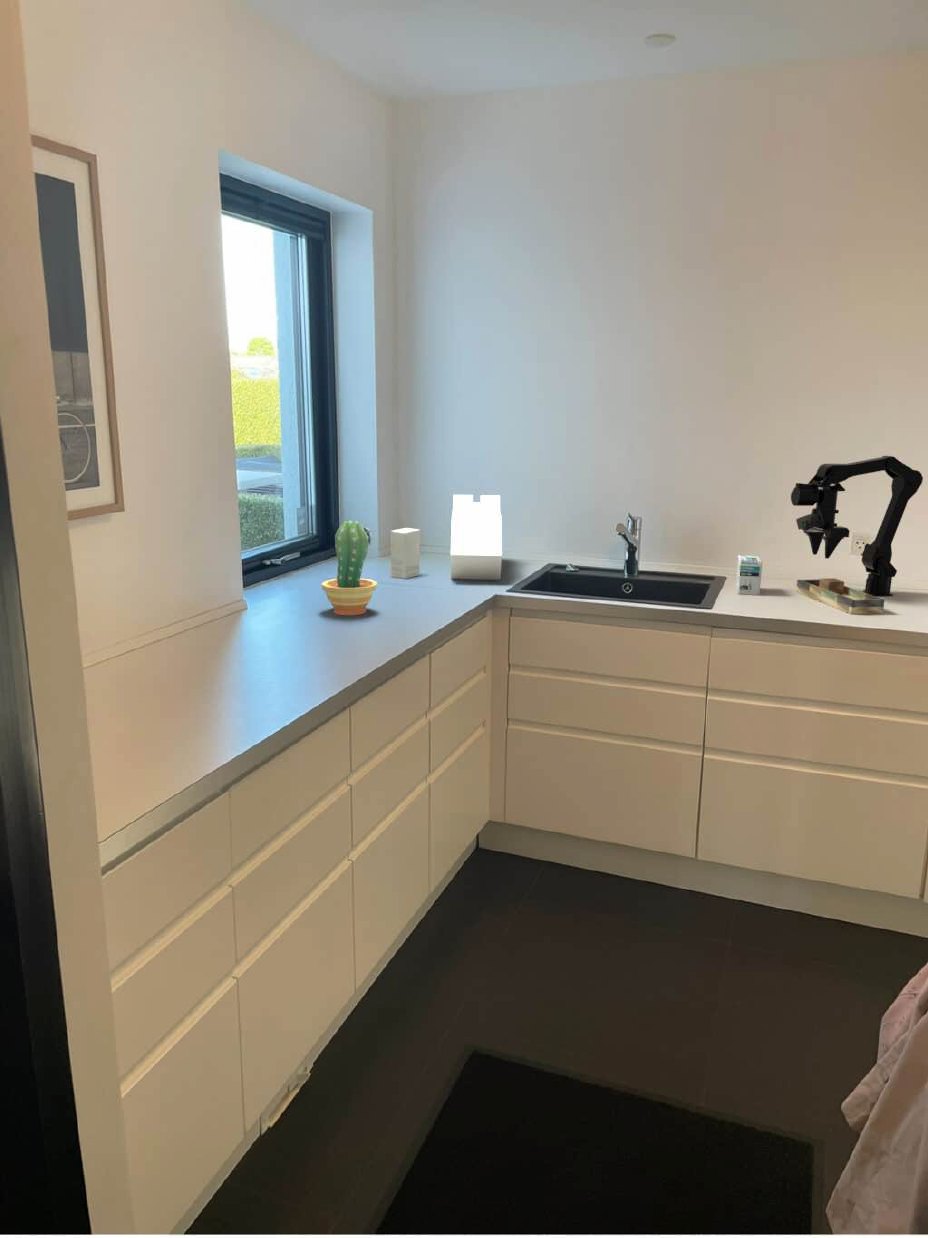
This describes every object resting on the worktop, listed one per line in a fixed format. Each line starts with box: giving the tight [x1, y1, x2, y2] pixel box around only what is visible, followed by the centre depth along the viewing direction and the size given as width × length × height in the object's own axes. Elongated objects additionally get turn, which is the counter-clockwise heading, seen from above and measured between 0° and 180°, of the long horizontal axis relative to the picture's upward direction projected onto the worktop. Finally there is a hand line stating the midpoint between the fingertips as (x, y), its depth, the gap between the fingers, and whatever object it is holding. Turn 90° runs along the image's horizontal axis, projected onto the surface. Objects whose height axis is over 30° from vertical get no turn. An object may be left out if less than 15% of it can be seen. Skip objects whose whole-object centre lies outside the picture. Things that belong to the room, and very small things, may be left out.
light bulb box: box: [735, 554, 763, 596], centre depth 289 cm, size 11×7×11 cm, turn 168°
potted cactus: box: [321, 520, 378, 616], centre depth 252 cm, size 15×16×25 cm
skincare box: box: [390, 527, 421, 580], centre depth 304 cm, size 8×7×16 cm
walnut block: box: [819, 577, 845, 595], centre depth 279 cm, size 5×5×4 cm
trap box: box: [795, 578, 886, 615], centre depth 276 cm, size 10×30×4 cm, turn 10°
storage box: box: [450, 494, 503, 581], centre depth 312 cm, size 26×16×35 cm
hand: (820, 556), depth 284 cm, fingers open, 7 cm apart
